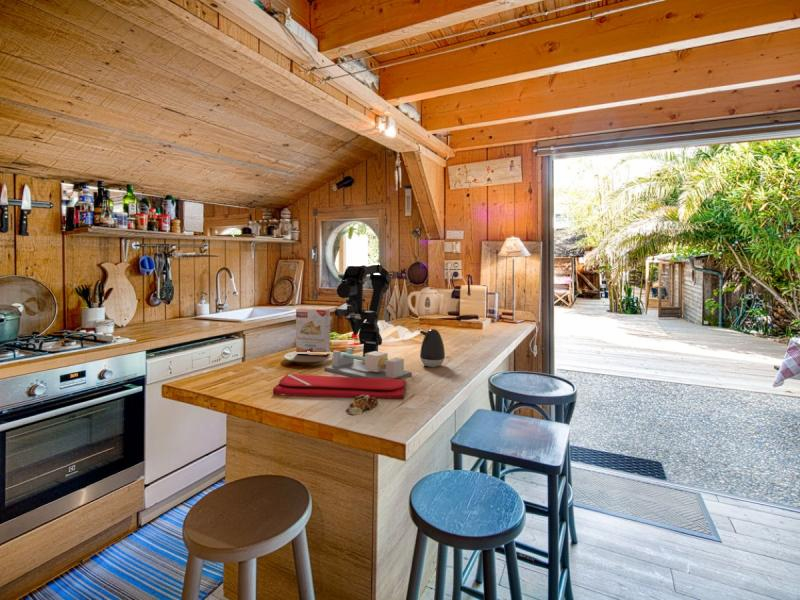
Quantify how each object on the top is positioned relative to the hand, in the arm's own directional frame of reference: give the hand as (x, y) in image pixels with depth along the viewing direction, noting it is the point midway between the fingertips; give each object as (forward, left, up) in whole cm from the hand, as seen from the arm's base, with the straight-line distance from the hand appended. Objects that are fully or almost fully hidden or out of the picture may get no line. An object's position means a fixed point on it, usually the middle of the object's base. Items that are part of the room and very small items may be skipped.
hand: (355, 335), depth 167 cm
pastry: (+35, +35, -13) cm, 51 cm away
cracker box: (-2, -28, -13) cm, 31 cm away
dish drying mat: (+26, +19, -13) cm, 35 cm away
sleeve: (+5, +15, -11) cm, 19 cm away
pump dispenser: (-20, +24, -13) cm, 34 cm away
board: (+5, +11, -12) cm, 17 cm away
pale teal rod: (+5, +10, -10) cm, 15 cm away
